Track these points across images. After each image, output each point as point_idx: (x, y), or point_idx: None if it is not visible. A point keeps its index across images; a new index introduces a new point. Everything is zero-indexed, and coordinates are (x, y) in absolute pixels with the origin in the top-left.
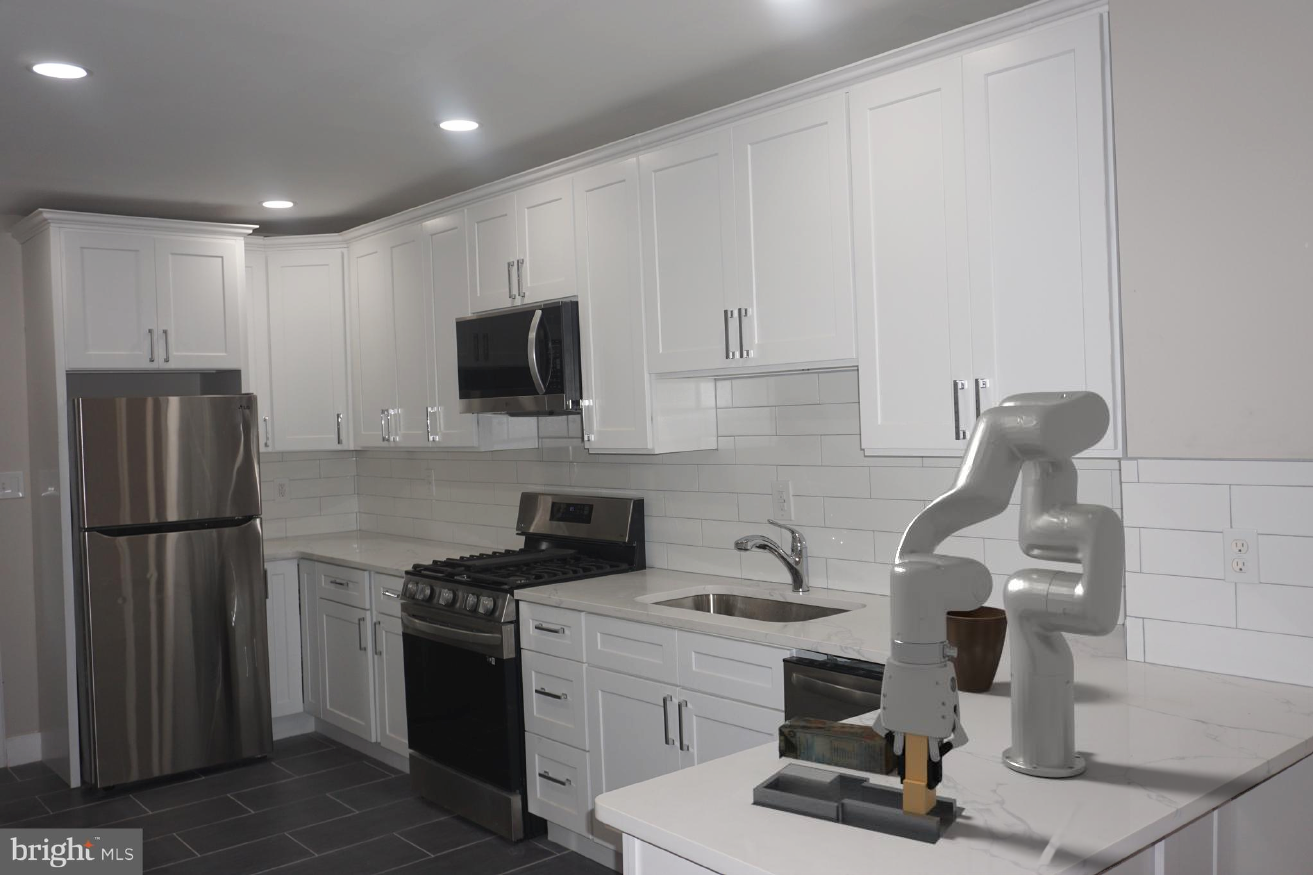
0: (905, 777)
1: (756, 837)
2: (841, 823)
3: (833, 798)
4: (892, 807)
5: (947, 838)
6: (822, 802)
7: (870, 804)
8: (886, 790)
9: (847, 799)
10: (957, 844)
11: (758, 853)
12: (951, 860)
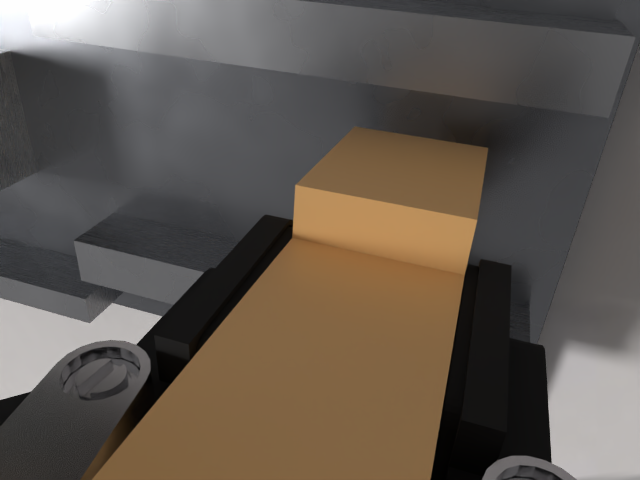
0: None
1: (20, 390)
2: (151, 310)
3: (13, 135)
4: (251, 84)
5: (564, 281)
6: (35, 303)
7: (187, 278)
8: (170, 52)
9: (86, 250)
10: (614, 328)
11: None
12: (587, 453)
